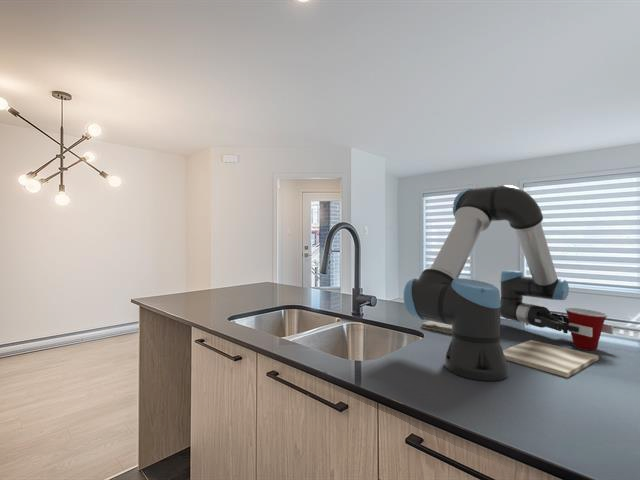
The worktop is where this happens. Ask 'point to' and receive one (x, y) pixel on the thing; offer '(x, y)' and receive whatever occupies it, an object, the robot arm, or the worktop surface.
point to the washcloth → (437, 327)
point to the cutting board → (549, 357)
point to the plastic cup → (588, 320)
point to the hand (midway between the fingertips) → (602, 331)
